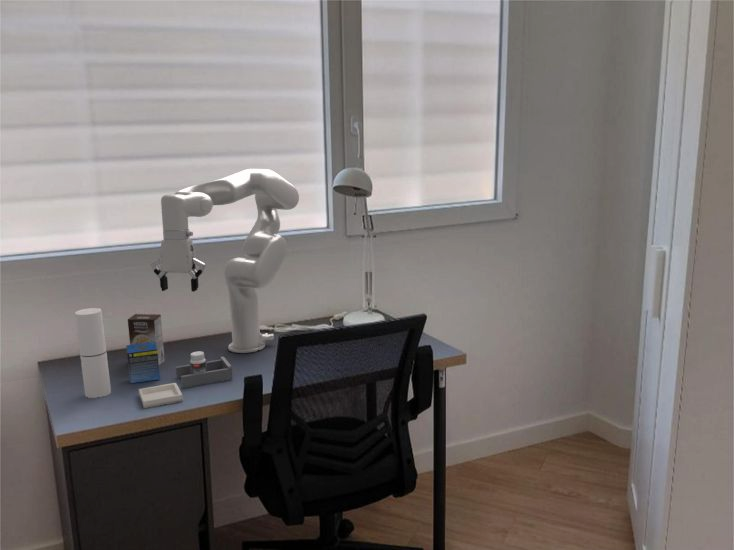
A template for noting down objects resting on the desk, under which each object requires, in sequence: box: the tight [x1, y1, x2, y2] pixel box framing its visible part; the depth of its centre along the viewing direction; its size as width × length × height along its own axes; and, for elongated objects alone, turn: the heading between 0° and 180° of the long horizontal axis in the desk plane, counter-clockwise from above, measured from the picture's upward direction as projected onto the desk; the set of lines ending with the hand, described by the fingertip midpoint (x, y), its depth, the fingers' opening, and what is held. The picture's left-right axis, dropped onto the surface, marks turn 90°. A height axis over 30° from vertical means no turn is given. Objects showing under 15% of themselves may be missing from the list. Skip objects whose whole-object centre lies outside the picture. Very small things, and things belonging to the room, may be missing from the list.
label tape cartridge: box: [125, 342, 161, 384], centre depth 218 cm, size 9×4×12 cm, turn 108°
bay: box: [175, 356, 233, 389], centre depth 218 cm, size 15×10×4 cm, turn 114°
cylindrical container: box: [74, 307, 112, 399], centre depth 206 cm, size 7×7×25 cm
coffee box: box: [127, 313, 166, 366], centre depth 232 cm, size 9×6×16 cm
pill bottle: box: [189, 351, 207, 374], centre depth 217 cm, size 5×5×8 cm
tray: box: [138, 382, 184, 409], centre depth 204 cm, size 11×11×2 cm
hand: (179, 290), depth 220 cm, fingers open, 9 cm apart
